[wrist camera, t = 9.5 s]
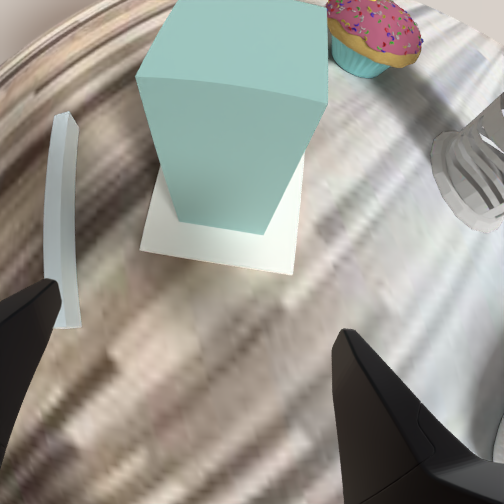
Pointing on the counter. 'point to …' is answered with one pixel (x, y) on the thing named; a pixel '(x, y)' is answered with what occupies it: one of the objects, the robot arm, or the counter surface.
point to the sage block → (234, 104)
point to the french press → (473, 169)
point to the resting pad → (226, 233)
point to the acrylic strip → (62, 218)
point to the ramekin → (499, 444)
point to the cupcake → (372, 36)
